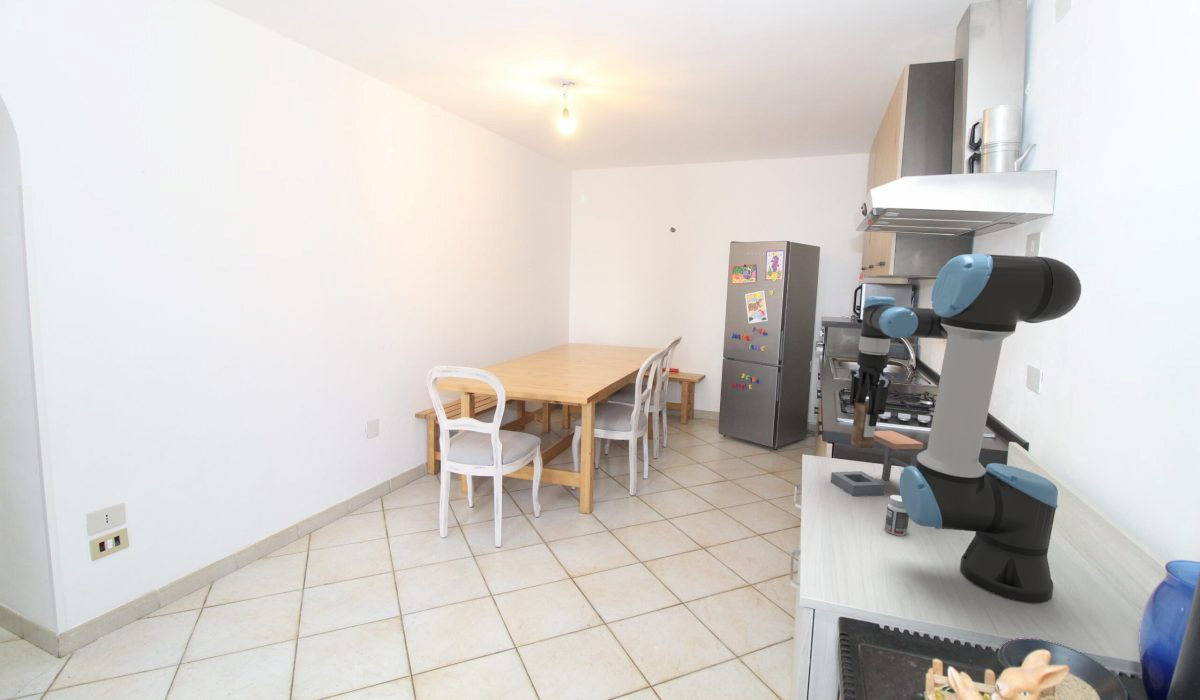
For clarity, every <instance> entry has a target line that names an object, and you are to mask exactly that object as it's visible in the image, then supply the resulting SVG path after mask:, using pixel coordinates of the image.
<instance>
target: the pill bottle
mask: <svg viewBox="0 0 1200 700" xmlns="http://www.w3.org/2000/svg"><path fill="white" fill-rule="evenodd" d="M886 507H887V508H886V515H885V522H884V529H885V531H886V532H888V533H890V534H891V535H895V536H898V537H899V536H900V537H901V536H905V535H907V534H908V528H909V520H910V517H909V516H908V514H907V512H906V510H905V508H904V505H903V502H902V498H901V495H899V494H891V495H890V496H889V503H888V504H887V506H886Z"/></svg>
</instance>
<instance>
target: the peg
mask: <svg viewBox="0 0 1200 700" xmlns="http://www.w3.org/2000/svg"><path fill="white" fill-rule="evenodd" d="M867 413H869V402H865V403H856V404H855V412H854V411H853V416H854V417H853V420H852V421H853V422H852V428H851V429H852V431H851V436H850V437H851V438H850V444H851V445H853V446H854V447H857V448H859V449H873V447H874V441H875V440H874V437H864V428H865V420H866V414H867Z"/></svg>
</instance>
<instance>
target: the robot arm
mask: <svg viewBox="0 0 1200 700" xmlns="http://www.w3.org/2000/svg"><path fill="white" fill-rule="evenodd" d="M1081 294H1082V283H1081V279H1080V278H1079V276H1078V274H1077V273H1076V272H1075V271H1074V269H1073V268H1072V267H1070V266H1069V265H1068V264H1067V263H1065V262H1062V261H1061V260H1058V259H1056V258H1052V257H1051V258H1050V257H1046V256H1025V255H1022V256H1021V255H1008V254H1007V255H1006V254H987V253H975V254H974V253H971V254H960V255H957V256H955V257H953V258H951V259H950V260H948V261H947V262H946V264H944V265H943V267H941V269H940V271H939V272H938V274H937V276H936V279H935V281H934V283H933V287H932V291H931V296H930V297H931V299H930V300H931V307H932V308H928V307H909V306H897V305H896V302H897V301H896V299H895V297H891V296H882V295H881V296H880V295H870V296H867V297H866V298H865V299H864V300H865V301H864V305H863V308H862V311H863V312H862V319H861V320H862V321H861V329H860V330H861V331H860V335H859V336H860V337H859V344H858V350H859V352H858V353H857V361H856V364H857V365H858V366H859V368H858V370H851V373H850V375H851V384H850V395H849V405H851V406H853V410H854V411H853V413H854V412H855V404H856V403H866V400H867V396H868V403H869V413H867V414H866V420H865V428H864V437H874V432H875V431H876V430H875V429H876V427H877V425H878V423H877V422H878V416H879V415H881V416H882V415H884V414H885V413H886V405H887V399H888V394H889V388H890V387H891V386H890V385H891V384H892V380H891V379H887V378H886V377H885V373H884V369H886V368H888V362H889V355H888V353H890V346H891V338H893V339H894V338H897V339H905V338H921V339H940V340H941V339H942V340H946V343H945V344H946V345H945V349H944V354H943V360H942V365H941V371H940V377H939V381H938V382H939V383H938V388H937V393H936V398H935V404H934V408H933V409H934V410H933V414H932V415H933V416H932V420H931V426H930V431H929V438H928V443H927V448H926V449H925V450H922V451H921V453H919V454H918V455H917V459H916V464H915V467H914V466H908V467H905V468H904V467H903V469H902V471H901V473H900V476H899V477H900V478H899V493H900V496H901V498H902V502H903V505H904V508H905V510H906V512H907V514H908V516H909V519H911V521H912V522H914V524H916V525H919V526H921V527H927V528H934V529H936V530H941V529H943V530H944V529H945V530H955V531H963V532H964V531H965V532H966V531H967V532H975V534H974V537H973V538H972V540H971V542H970V543H969V545H968V547H967V548H966V550H965V552H964V553H963V554H962V556H961V559H960V563H959V564H960V565H959V571H960V573H961V575H963V577H964V578H966V580H968V581H969V582H971V583H972V584H973V585H975V586H977V587H978V588H981V589H982V590H984V591H986V592H988V593H991V594H993V595H996V596H999V597H1001V598H1004V599H1009V600H1012V601H1015V602H1022V603H1028V604H1041V603H1046V602H1049V601H1050V600H1051V599H1052V598H1053V591H1054V583H1053V579H1052V576H1051V570H1050V569H1051V568H1050V564H1049V560H1048V553H1049V547H1050V542H1051V536H1052V531H1053V526H1054V525H1053V524H1054V519H1055V514H1056V510H1057V508H1058V506H1059V505H1058V498H1059V497H1058V495H1059V493H1058V492H1059V490H1058V488H1057V486H1056V485H1055V484H1054V483H1053V481H1051V480H1049V479H1047V478H1045V477H1044V476H1041V475H1039V474H1037V473H1034V472H1031V471H1028V470H1026V469H1022V468H1019V467H1016V466H1011V465H1008V464H1003V463H997V462H991V463H988V464H987V465H986V467H984V466H983V464H981V462H980V461H979V459H980V454H981V448H982V445H983V439H984V435H985V434H984V433H985V428H986V423H987V419H988V414H989V409H990V404H991V399H992V395H993V391H994V385H995V380H996V375H997V370H998V365H999V360H1000V355H1001V351H1002V345H1003V341H1004V340H1005V339H1006V338H1009V336H1011V335H1013V334H1015V333H1016V329H1017V324H1018V323H1020V322H1024V323H1027V324H1028V323H1029V324H1039V323H1043V322H1044V323H1045V322H1047V321H1053V320H1056V319H1059V318H1061V317H1063V316H1065V315H1067V314H1069V313H1070V312H1071V311H1072V310H1073V309H1074V308H1075V307H1076V306H1077V304H1078V302H1079V300H1080V298H1081ZM852 418H854V415H853V417H852Z"/></svg>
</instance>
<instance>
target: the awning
mask: <svg viewBox="0 0 1200 700" xmlns="http://www.w3.org/2000/svg"><path fill="white" fill-rule="evenodd" d="M873 441H875V442H878V443H879V444H882V445H884V446H885V450H884V459H883V464H882V465H883V466H882V471H881V473H882V474H881V480H882V481H884V482H889V481H890V478H891V472H892V464H895V465H898V466H900V467H901V468H903V469H904V468H905V467H908V466H914V467H915V464H916V459H917V455H918V454H919V453H921V452H922V450H923V448H924V443H923V442H921V441H918V440H916V439H914V438H910V437H909V436H907V435H903V434H901V433H898V432H897V431H894V430H875V432H874V440H873ZM894 450H911V454H910V463H905V461H904V462H903V461H902V460H899V459H897V458H895V457H893V456H894Z"/></svg>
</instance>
